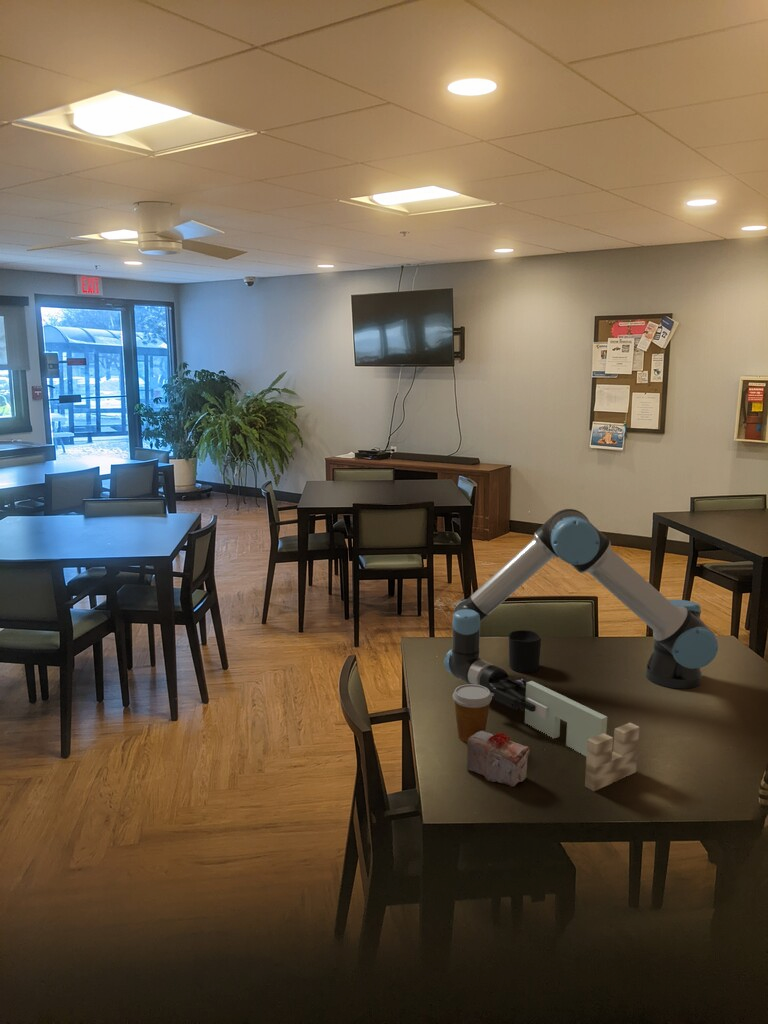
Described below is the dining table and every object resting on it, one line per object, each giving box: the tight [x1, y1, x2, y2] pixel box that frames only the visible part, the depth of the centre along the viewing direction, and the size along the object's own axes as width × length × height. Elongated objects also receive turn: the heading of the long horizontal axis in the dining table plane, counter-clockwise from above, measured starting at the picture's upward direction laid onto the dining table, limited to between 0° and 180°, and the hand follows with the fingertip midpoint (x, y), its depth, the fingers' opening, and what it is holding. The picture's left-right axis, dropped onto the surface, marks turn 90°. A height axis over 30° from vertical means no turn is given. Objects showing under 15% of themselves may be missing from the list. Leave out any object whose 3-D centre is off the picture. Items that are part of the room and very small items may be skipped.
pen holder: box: [508, 629, 542, 674], centre depth 231 cm, size 9×9×10 cm
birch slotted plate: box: [584, 722, 640, 792], centre depth 170 cm, size 14×2×11 cm, turn 124°
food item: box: [466, 730, 530, 788], centre depth 172 cm, size 14×8×10 cm, turn 53°
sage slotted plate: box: [524, 680, 608, 757], centre depth 187 cm, size 24×2×11 cm, turn 34°
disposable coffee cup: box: [452, 683, 493, 744], centre depth 189 cm, size 10×10×12 cm
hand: (552, 710), depth 190 cm, fingers open, 4 cm apart
